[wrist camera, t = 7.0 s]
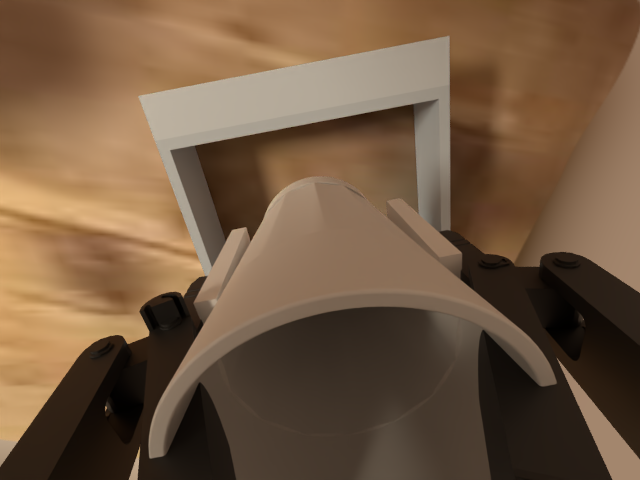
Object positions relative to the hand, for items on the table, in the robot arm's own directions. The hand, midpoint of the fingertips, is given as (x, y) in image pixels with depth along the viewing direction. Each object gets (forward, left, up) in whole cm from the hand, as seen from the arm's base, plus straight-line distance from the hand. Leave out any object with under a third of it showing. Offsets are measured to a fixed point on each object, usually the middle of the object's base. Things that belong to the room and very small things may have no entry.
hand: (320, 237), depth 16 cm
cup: (0, 0, -1) cm, 1 cm away
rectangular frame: (0, 0, -14) cm, 14 cm away
